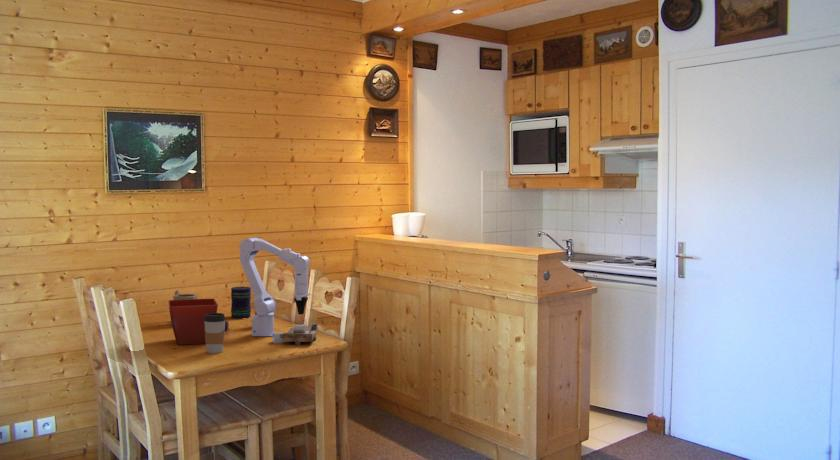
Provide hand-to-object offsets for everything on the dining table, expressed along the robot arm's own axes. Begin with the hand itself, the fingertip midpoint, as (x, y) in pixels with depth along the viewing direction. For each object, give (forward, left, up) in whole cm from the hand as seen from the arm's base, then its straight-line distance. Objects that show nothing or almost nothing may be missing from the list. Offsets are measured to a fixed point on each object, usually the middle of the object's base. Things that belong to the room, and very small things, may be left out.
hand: (300, 314), depth 310 cm
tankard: (-60, +31, -11) cm, 69 cm away
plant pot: (-44, -10, -11) cm, 47 cm away
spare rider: (-8, -10, -11) cm, 17 cm away
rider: (+1, -9, -7) cm, 12 cm away
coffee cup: (-30, -29, -11) cm, 43 cm away
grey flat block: (+1, -5, -10) cm, 11 cm away
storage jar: (-36, +48, -11) cm, 61 cm away
